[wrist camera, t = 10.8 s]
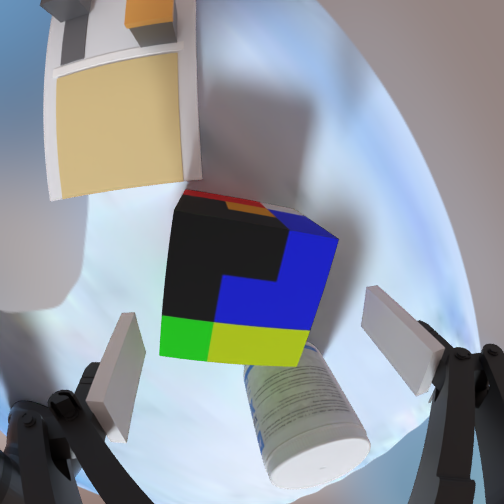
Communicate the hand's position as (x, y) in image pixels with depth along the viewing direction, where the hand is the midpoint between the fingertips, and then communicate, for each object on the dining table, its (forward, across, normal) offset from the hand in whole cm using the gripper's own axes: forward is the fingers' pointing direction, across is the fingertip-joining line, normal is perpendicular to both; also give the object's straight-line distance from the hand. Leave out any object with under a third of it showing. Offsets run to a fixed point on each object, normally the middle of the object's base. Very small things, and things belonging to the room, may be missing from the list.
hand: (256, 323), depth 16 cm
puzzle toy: (+13, 0, 0) cm, 13 cm away
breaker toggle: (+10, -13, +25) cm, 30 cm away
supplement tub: (+13, +4, -15) cm, 20 cm away
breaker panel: (+12, -10, +17) cm, 23 cm away
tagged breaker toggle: (+10, -5, +20) cm, 23 cm away
